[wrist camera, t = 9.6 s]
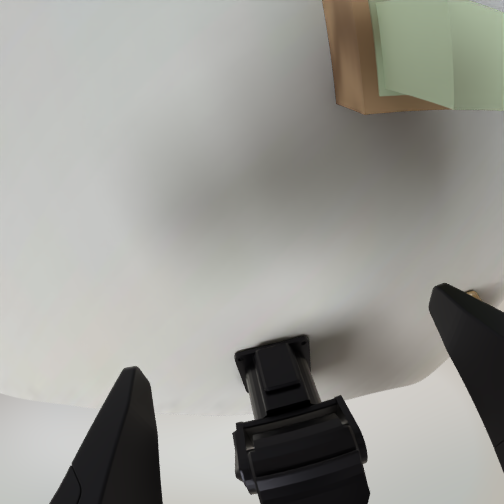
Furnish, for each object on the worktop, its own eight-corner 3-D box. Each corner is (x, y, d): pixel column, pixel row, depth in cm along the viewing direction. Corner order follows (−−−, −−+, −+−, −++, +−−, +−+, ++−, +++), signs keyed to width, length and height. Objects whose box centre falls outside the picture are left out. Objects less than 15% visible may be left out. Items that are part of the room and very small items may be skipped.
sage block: (449, 88, 14) (517, 111, 9) (384, 88, 13) (453, 109, 9) (444, 13, 11) (514, 17, 7) (375, 2, 11) (445, -7, 7)
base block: (428, 97, 17) (464, 109, 14) (336, 103, 17) (365, 115, 14) (420, -1, 13) (456, -4, 10) (320, -10, 13) (348, -22, 10)
